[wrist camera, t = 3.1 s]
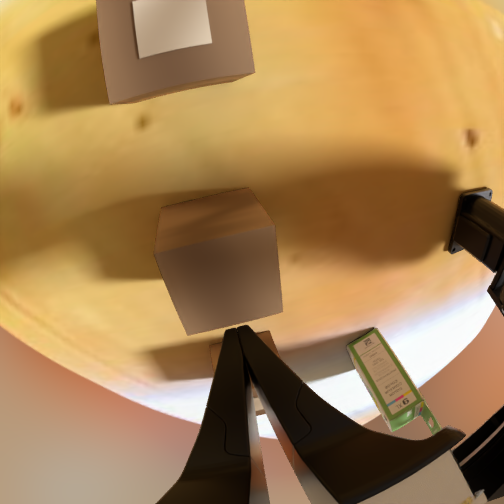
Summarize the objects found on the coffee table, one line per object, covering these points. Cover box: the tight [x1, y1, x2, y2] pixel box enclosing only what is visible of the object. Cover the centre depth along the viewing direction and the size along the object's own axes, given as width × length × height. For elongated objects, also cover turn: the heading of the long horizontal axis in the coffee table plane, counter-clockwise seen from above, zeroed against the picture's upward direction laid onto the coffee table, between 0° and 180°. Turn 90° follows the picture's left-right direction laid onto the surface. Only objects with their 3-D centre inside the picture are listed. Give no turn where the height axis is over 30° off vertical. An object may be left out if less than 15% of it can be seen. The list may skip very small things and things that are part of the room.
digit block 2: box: [209, 331, 280, 416], centre depth 21 cm, size 5×5×5 cm
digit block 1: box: [96, 0, 255, 104], centre depth 8 cm, size 5×5×5 cm
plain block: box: [154, 187, 283, 336], centre depth 14 cm, size 5×5×5 cm
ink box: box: [347, 328, 442, 435], centre depth 22 cm, size 7×4×13 cm, turn 29°
